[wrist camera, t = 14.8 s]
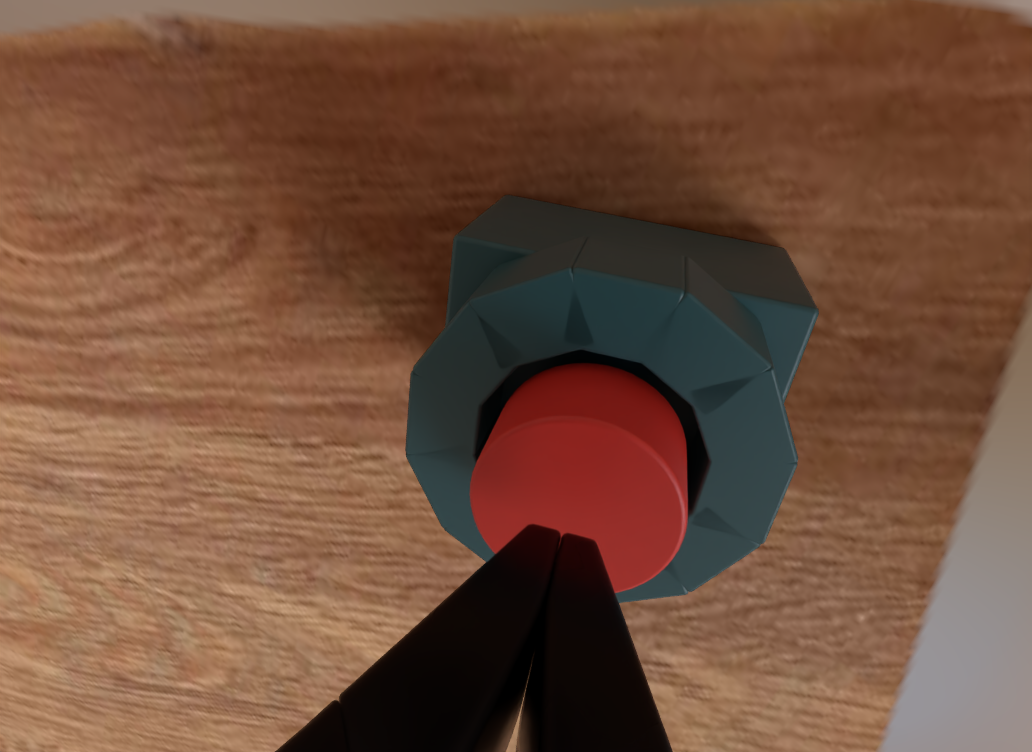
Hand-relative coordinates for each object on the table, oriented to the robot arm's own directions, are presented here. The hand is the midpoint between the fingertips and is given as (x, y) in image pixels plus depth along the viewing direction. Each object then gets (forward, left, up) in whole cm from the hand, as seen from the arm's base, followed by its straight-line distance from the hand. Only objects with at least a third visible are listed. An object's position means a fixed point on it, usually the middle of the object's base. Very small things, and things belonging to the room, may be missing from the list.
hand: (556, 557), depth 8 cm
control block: (0, 0, -8) cm, 8 cm away
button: (0, 0, -3) cm, 3 cm away
